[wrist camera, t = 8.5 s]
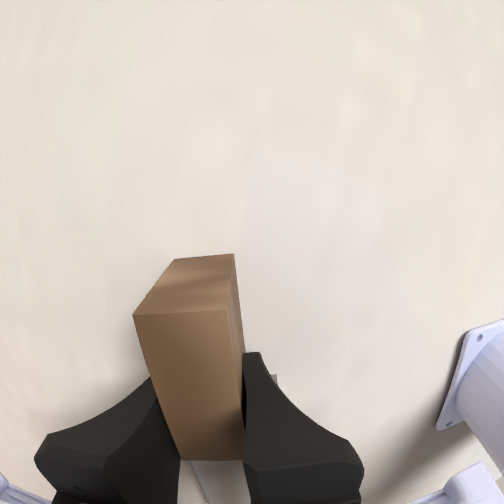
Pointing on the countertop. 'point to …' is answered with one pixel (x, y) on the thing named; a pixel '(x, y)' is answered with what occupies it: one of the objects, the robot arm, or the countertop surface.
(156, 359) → the putty knife
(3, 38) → the countertop surface
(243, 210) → the countertop surface
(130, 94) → the countertop surface
